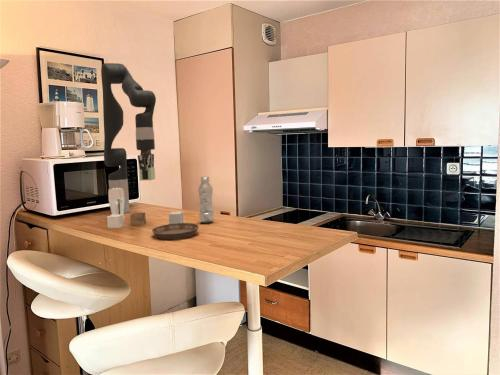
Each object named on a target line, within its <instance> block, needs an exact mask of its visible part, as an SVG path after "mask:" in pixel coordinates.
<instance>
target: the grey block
mask: <svg viewBox="0 0 500 375" xmlns="http://www.w3.org/2000/svg"><path fill="white" fill-rule="evenodd" d="M168 223H169V224H176V223H185V221H184V211H171V212H170V213H168Z"/></svg>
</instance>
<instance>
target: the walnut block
mask: <svg viewBox="0 0 500 375" xmlns="http://www.w3.org/2000/svg"><path fill="white" fill-rule="evenodd" d="M146 215H147V214H146V212H133V213H131V214H129V216H130V217H129V218H130V220H129V221H130V226H131V227H139V226H140V227H143V226H144V225H145V224H147V216H146Z"/></svg>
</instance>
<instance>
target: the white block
mask: <svg viewBox="0 0 500 375" xmlns="http://www.w3.org/2000/svg"><path fill="white" fill-rule="evenodd" d="M106 218H107V219H106V220H107V229H120V228H122V227H124V226H125V223H124V222H125V221H124V218H125V217H124V218H123V214H117V215H112V214H110V215H108V216H106Z"/></svg>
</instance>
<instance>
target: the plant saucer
mask: <svg viewBox="0 0 500 375" xmlns="http://www.w3.org/2000/svg"><path fill="white" fill-rule="evenodd" d="M199 227H200V226H199V225H198V224H197V223H190V222H189V223H188V222H184V223H176V224H163V225H159V226H155V227H154V228H152V229H151V232H152V233H153V234H154V236H155V237H157V238H158V239H160V240H181V238H182V239H185V238H186V237H187V238H189V237H190V238H191V237H192V236H194V235H195V234H196V232H197V231H198V230H199Z"/></svg>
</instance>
